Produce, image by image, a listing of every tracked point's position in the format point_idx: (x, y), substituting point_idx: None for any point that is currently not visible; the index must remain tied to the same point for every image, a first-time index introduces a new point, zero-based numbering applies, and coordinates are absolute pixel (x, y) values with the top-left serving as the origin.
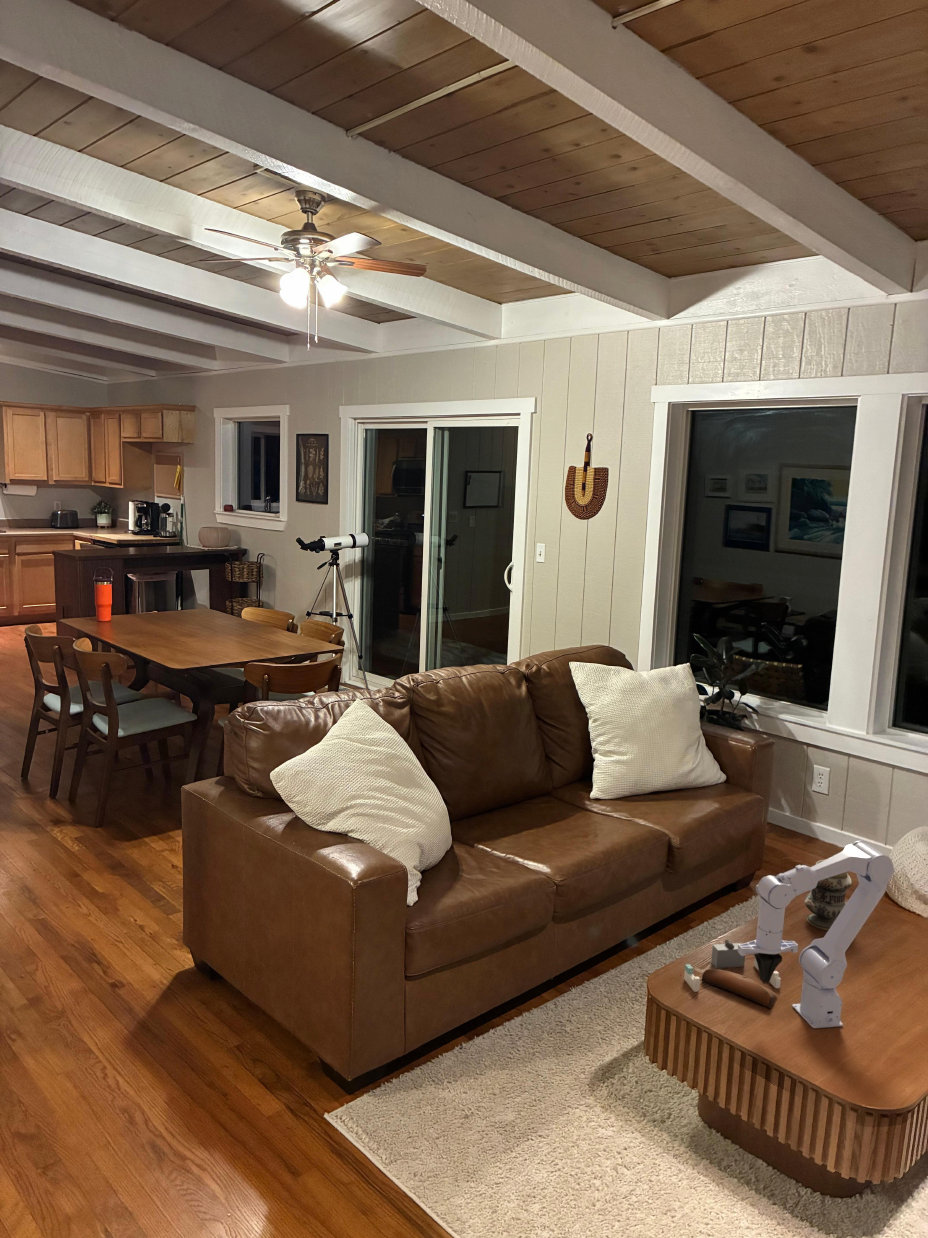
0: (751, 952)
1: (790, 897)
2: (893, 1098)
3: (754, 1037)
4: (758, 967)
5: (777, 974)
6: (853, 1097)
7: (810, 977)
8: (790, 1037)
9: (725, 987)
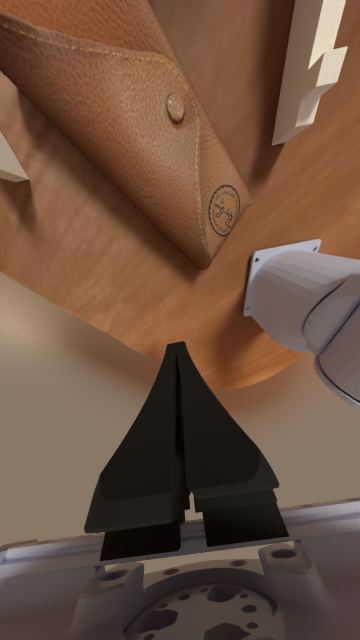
0: (67, 561)
1: None
2: (242, 384)
3: (150, 335)
4: (157, 378)
5: (325, 86)
6: (212, 387)
7: (331, 328)
8: (199, 331)
9: (105, 176)
